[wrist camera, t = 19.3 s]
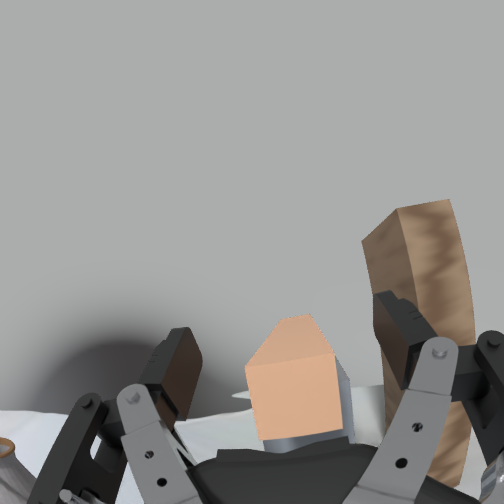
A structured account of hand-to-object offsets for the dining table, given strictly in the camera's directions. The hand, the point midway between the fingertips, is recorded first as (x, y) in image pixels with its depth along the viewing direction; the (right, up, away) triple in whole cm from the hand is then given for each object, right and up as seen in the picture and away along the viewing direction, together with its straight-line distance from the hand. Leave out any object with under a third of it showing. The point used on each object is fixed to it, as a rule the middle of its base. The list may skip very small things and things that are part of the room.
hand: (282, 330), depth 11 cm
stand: (+20, -25, +10) cm, 33 cm away
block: (+3, -7, +12) cm, 14 cm away
